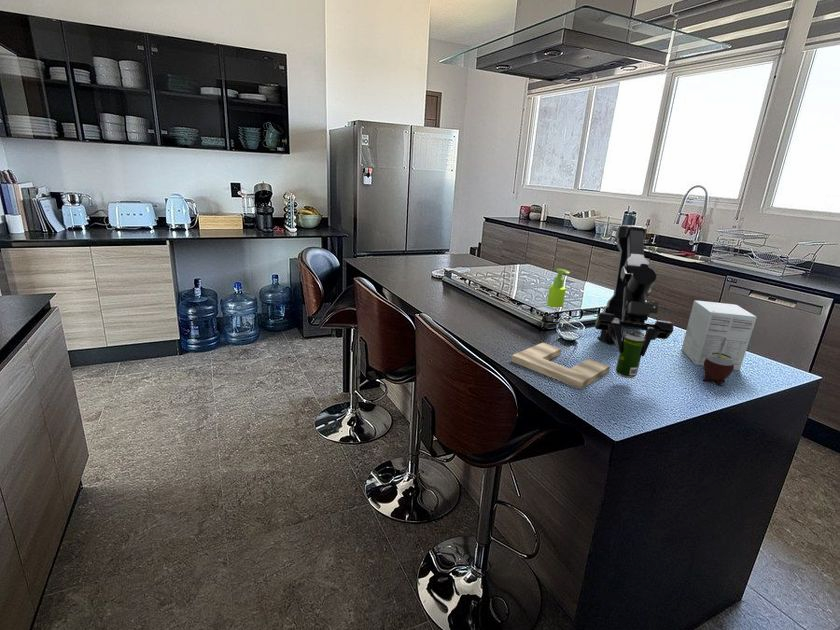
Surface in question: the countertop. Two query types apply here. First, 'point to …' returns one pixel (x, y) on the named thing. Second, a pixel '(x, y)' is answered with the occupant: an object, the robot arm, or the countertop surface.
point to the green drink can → (630, 354)
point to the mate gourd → (718, 366)
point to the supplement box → (718, 331)
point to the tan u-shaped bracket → (560, 366)
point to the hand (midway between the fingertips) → (631, 354)
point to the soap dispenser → (557, 290)
